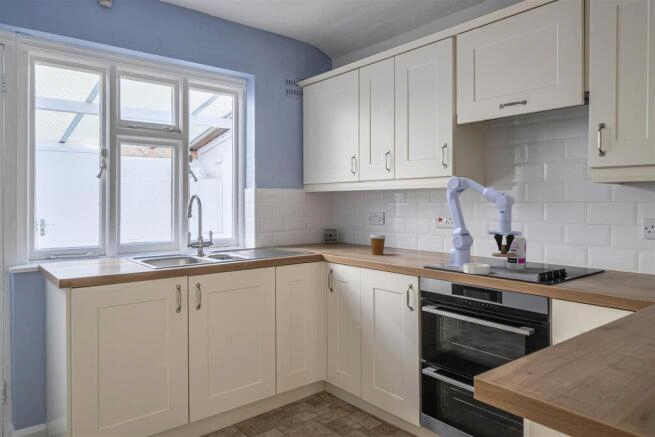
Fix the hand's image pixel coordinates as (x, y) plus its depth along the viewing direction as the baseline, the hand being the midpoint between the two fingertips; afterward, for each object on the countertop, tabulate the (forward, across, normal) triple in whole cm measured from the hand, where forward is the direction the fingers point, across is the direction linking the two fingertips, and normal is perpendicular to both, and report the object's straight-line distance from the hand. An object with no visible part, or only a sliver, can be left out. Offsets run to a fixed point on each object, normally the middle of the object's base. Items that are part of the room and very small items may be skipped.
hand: (504, 251), depth 210 cm
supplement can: (+10, +1, +13) cm, 16 cm away
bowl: (+9, -8, -12) cm, 17 cm away
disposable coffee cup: (+10, -81, +16) cm, 83 cm away
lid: (+2, 0, 0) cm, 2 cm away
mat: (+9, -1, 0) cm, 9 cm away
